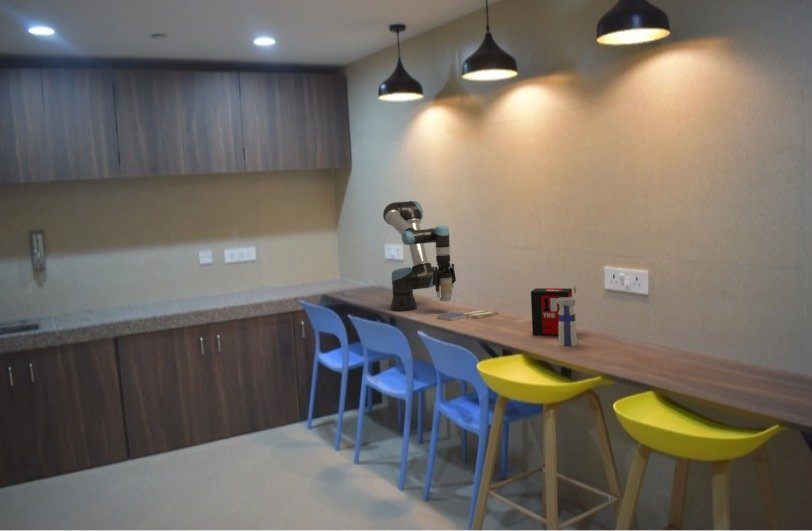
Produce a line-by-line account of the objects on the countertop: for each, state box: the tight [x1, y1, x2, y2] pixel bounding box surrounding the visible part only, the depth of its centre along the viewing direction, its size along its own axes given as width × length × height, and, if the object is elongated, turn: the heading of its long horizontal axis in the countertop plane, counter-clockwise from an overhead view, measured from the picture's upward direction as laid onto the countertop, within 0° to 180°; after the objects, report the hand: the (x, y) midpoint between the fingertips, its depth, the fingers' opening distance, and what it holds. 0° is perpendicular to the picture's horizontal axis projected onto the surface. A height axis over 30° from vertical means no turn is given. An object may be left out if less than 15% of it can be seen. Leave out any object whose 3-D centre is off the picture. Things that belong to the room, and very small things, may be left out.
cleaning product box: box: [530, 287, 573, 337], centre depth 311 cm, size 16×9×20 cm, turn 66°
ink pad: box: [436, 312, 468, 322], centre depth 363 cm, size 11×11×2 cm
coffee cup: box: [437, 272, 453, 302], centre depth 375 cm, size 9×9×15 cm
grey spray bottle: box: [557, 285, 578, 347], centre depth 290 cm, size 8×8×25 cm
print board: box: [460, 309, 499, 320], centre depth 366 cm, size 15×15×1 cm
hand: (444, 296), depth 376 cm, fingers closed on coffee cup, 8 cm apart
